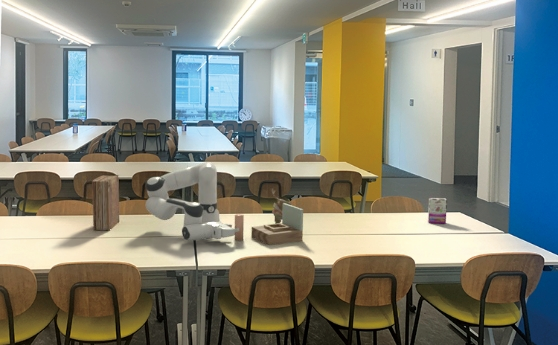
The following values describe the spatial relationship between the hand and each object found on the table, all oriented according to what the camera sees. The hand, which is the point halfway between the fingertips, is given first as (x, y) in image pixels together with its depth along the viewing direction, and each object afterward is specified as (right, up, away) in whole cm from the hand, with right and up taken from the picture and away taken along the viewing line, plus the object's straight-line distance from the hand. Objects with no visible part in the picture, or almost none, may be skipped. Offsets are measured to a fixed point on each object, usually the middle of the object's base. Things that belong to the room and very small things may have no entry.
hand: (234, 227), depth 307 cm
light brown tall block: (+2, -7, +3) cm, 8 cm away
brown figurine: (+25, -4, +30) cm, 40 cm away
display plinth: (+23, -7, +6) cm, 25 cm away
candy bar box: (+129, -3, +55) cm, 140 cm away
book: (-80, -2, +28) cm, 85 cm away
